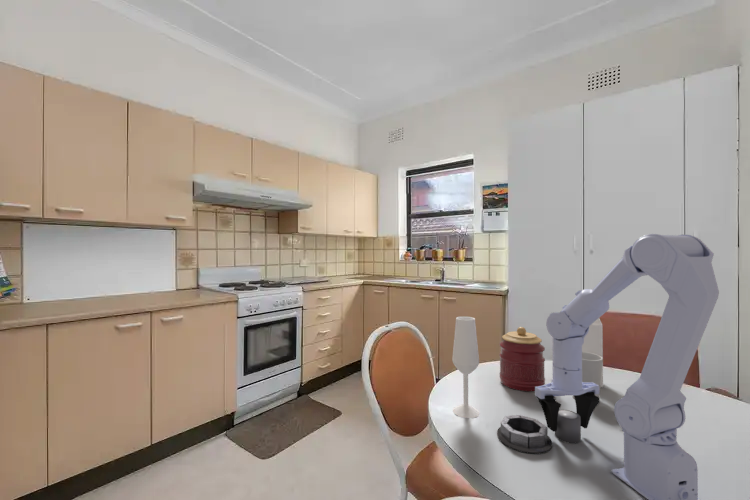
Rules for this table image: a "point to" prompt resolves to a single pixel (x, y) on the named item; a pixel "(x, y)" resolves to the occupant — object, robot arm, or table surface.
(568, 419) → the cap
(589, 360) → the cup
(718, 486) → the table surface
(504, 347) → the canister
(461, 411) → the champagne flute
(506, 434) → the socket
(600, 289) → the robot arm
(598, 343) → the milk
